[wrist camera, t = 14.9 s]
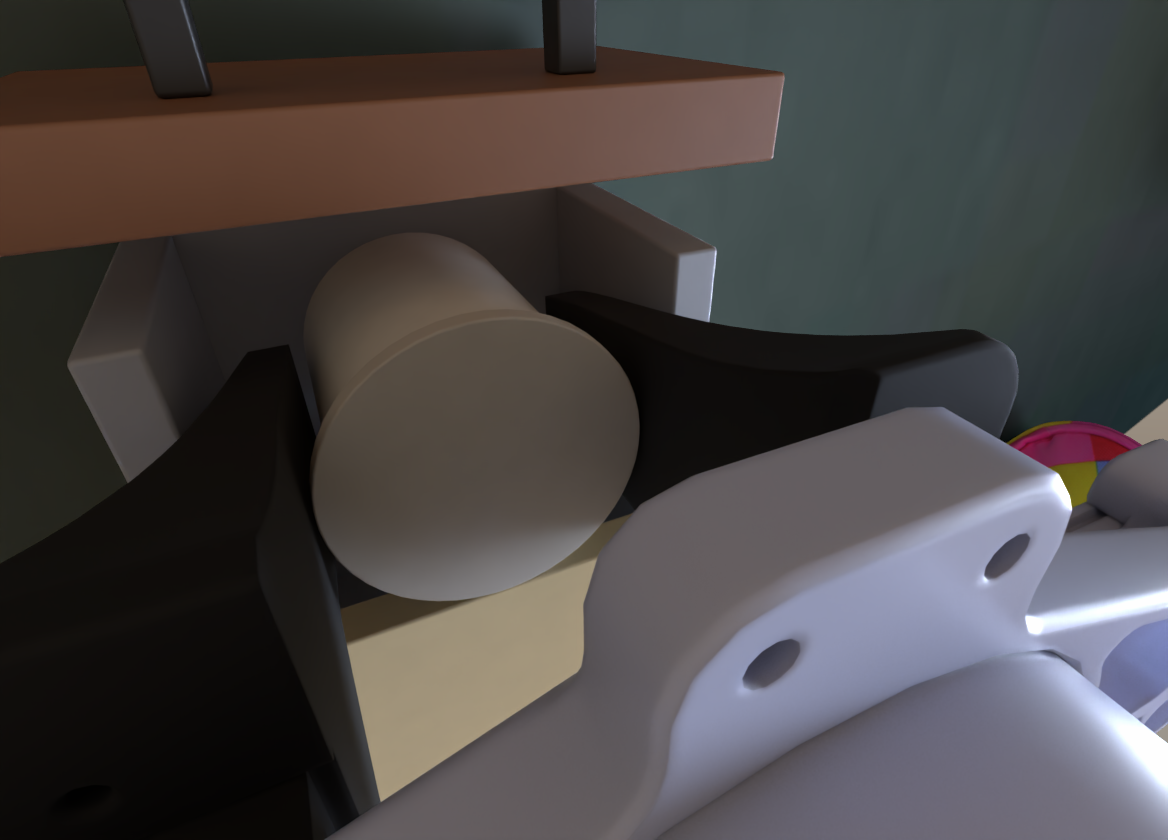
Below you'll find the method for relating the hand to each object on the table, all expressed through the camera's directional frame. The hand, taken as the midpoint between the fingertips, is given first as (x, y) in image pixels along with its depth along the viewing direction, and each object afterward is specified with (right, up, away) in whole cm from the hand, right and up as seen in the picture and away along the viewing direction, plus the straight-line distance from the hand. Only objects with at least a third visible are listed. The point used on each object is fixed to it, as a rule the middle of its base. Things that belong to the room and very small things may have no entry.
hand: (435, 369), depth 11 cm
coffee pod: (-1, +1, +1) cm, 1 cm away
